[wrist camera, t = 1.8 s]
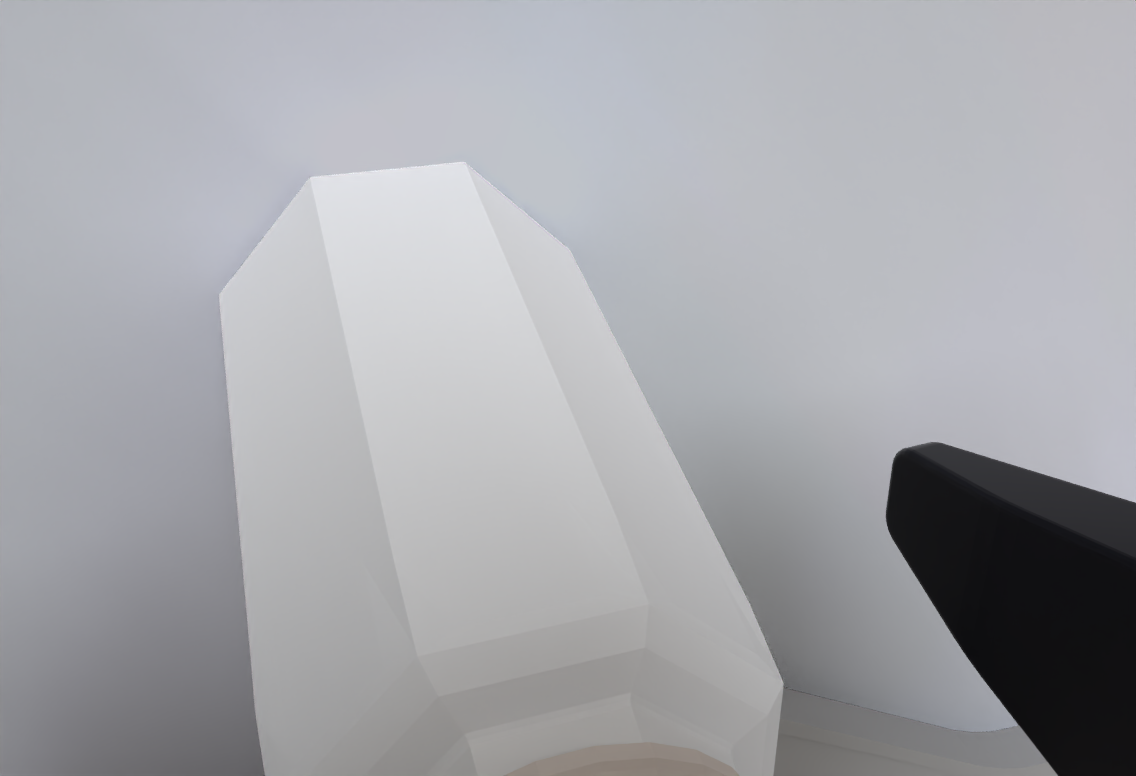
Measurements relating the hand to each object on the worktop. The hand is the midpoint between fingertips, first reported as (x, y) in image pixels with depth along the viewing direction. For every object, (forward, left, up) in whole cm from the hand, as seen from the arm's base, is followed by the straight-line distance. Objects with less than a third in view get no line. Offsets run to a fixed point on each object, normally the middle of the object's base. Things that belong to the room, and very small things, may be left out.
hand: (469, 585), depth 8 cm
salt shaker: (0, 0, -6) cm, 6 cm away
